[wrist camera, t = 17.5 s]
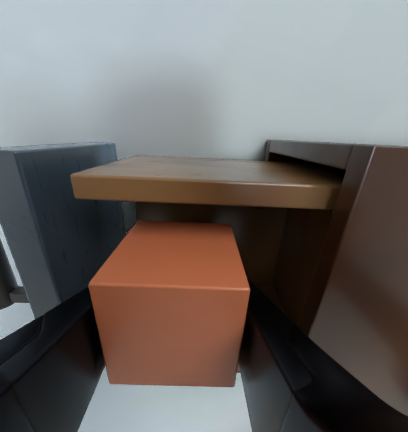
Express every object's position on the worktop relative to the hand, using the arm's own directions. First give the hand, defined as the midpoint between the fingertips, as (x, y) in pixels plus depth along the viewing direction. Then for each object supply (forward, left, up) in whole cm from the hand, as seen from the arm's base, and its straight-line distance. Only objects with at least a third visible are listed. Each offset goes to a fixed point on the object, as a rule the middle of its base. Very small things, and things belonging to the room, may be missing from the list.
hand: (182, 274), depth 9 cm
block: (0, 0, -1) cm, 1 cm away
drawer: (0, +2, -5) cm, 6 cm away
